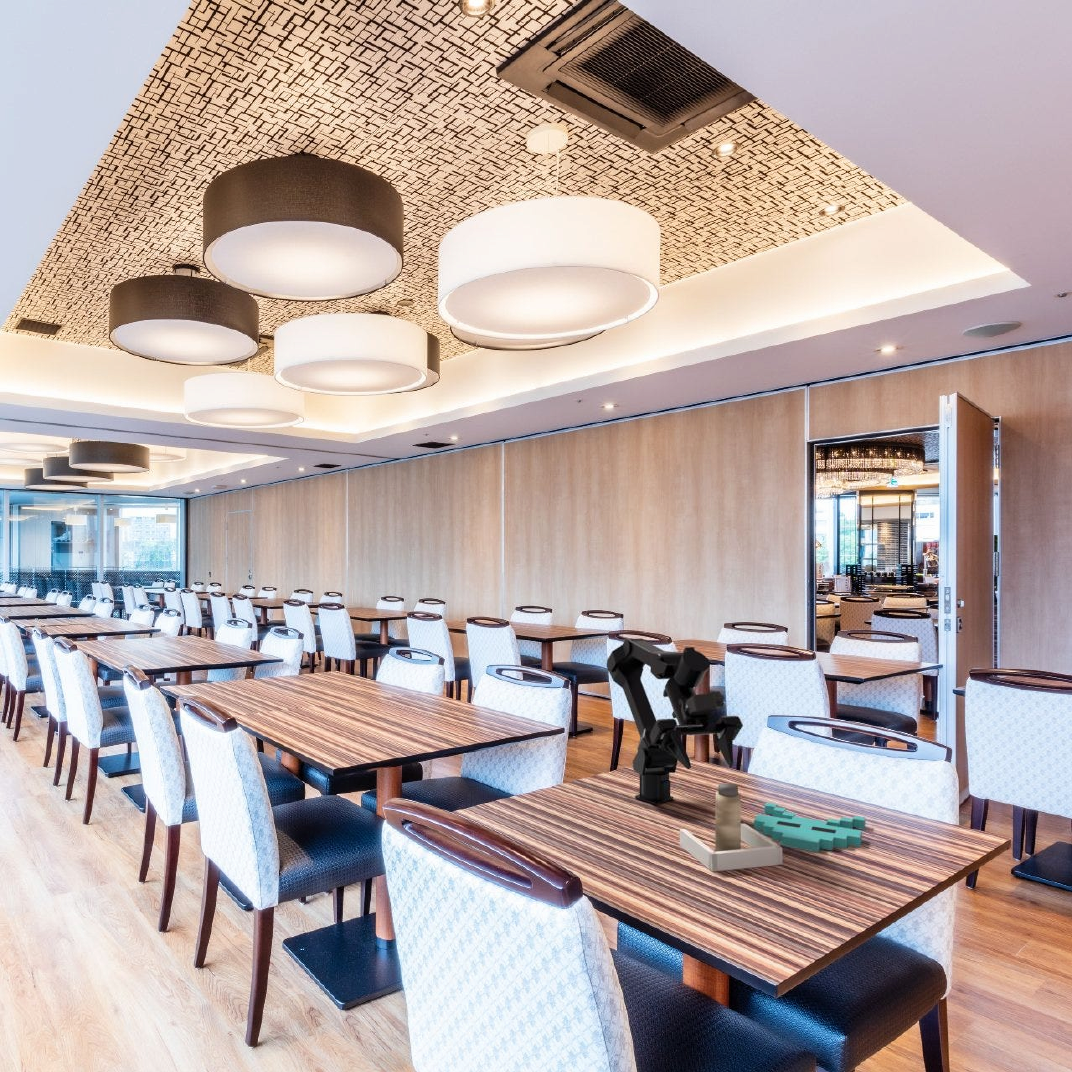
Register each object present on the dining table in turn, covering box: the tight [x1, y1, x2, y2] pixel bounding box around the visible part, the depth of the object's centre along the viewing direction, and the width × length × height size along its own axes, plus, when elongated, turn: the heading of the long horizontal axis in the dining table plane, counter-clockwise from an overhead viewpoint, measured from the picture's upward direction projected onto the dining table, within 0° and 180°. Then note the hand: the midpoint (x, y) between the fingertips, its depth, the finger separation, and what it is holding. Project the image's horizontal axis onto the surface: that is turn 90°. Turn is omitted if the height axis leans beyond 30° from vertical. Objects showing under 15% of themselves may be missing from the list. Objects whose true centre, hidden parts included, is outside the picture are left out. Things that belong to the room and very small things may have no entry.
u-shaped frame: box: [679, 823, 783, 873], centre depth 142 cm, size 13×14×3 cm
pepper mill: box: [714, 782, 742, 852], centre depth 143 cm, size 5×5×12 cm
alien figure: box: [753, 802, 866, 853], centre depth 154 cm, size 20×2×20 cm
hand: (710, 766), depth 150 cm, fingers open, 9 cm apart
